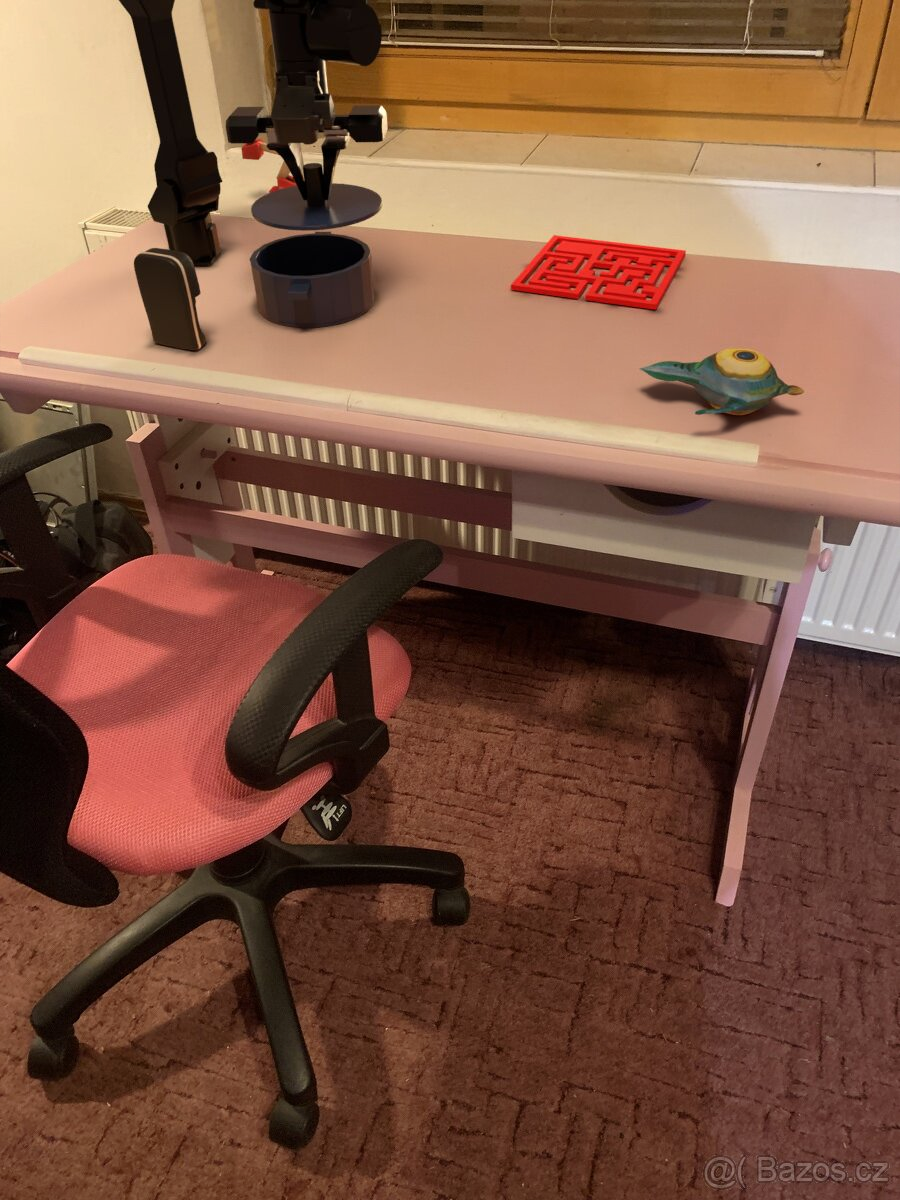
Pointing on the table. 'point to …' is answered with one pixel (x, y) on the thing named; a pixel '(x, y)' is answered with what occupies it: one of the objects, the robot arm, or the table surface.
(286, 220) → the lid
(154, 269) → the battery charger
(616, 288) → the maze puzzle
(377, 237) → the table surface
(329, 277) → the pan
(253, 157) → the toy fire truck
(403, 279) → the table surface
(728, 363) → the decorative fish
